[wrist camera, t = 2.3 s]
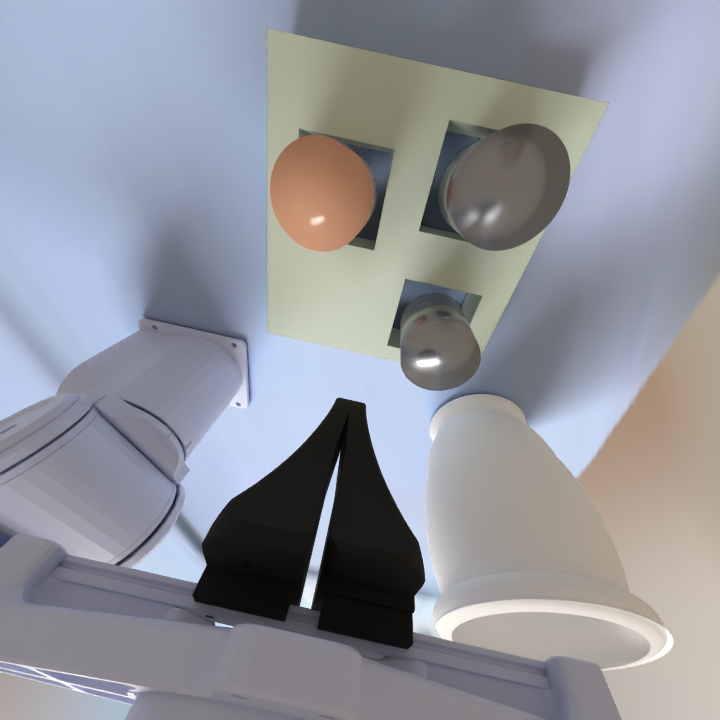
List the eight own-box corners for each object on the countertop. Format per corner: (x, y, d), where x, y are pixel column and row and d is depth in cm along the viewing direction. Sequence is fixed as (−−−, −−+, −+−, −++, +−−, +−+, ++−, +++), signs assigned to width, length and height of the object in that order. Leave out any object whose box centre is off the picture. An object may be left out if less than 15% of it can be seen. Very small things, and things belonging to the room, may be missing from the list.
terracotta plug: (300, 227, 16) (269, 240, 12) (305, 139, 14) (270, 123, 10) (368, 242, 16) (358, 260, 12) (384, 157, 14) (378, 147, 10)
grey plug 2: (428, 225, 15) (437, 239, 11) (455, 131, 13) (477, 110, 9) (500, 241, 15) (533, 260, 11) (539, 150, 13) (596, 137, 9)
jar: (545, 377, 23) (723, 616, 10) (529, 460, 28) (635, 685, 15) (413, 387, 25) (427, 595, 12) (422, 462, 30) (437, 662, 18)
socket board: (282, 316, 23) (267, 332, 20) (290, 54, 14) (267, 28, 12) (462, 356, 23) (469, 377, 20) (572, 117, 14) (609, 103, 12)
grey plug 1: (393, 342, 19) (392, 381, 15) (410, 287, 17) (412, 316, 13) (450, 355, 19) (462, 397, 15) (473, 301, 17) (494, 334, 13)
